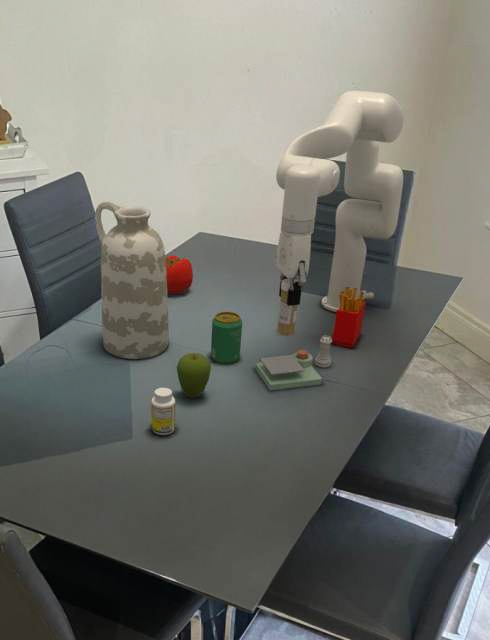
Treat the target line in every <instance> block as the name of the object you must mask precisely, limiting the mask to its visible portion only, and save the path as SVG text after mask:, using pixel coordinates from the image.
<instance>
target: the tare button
mask: <svg viewBox="0 0 490 640" xmlns="http://www.w3.org/2000/svg"><path fill="white" fill-rule="evenodd" d="M297 352H298V355H297V358H298V359H302V360H304V359H307V355H308V354H309V352H308V351H307V350H305V349H299V350H298V351H297Z"/></svg>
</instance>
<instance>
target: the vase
mask: <svg viewBox="0 0 490 640" xmlns="http://www.w3.org/2000/svg"><path fill="white" fill-rule="evenodd" d="M104 210H107V211H110V212H112V213H113V216H114V218H115V220H116V225H115V226H113V227H112V228H110V230H109V231H108V232H107V234H106V232H105V228H104V226H103V221H102V213H103V211H104ZM150 217H151V211H150V209H148V208H147V207H144V206H139V205H138V206H137V205H132V206H131V205H130V206H128V205H127V206H120V205H118V204H115V203H113V202H110V201H103V202H100V203H99V204H98V205H97V207H96V209H95V211H94V225H95V228H96V233H97V235H98V239H99V243H100V246H101V251H100V252H101V253H100V279H101V280H100V282H101V285H100V286H101V329H102V331H101V332H102V345H103V348H104V350H105V351H106V352H107V353H108V354H110V355H112V356H113V357H117V358H121V359H125V360H126V359H128V360H143V359H148V358H149V359H150V358H153V357H156V356H159V355H161V354H163V353H164V352H165V351H166V350H167V349H168V347H169V342H170V341H169V339H170V338H169V336H170V335H169V332H170V331H169V300H168V299H169V297H168V293H167V276H166V259H165V258H166V251H165V245H164V242H163V239H162V237H161V236H160V233H158V232H157V230H156V229H155V228H153V227H152V226H150V224H149V218H150Z"/></svg>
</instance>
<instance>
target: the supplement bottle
mask: <svg viewBox="0 0 490 640" xmlns="http://www.w3.org/2000/svg"><path fill="white" fill-rule="evenodd" d="M150 407H151V408H150V409H151V430H152V432H154V433H155V434H157V435H161V436H167V435H170V434H172V433H174V431H175V430H176V398H175V397H174V396H173V391H172V389H170V388H168V387H159V388H156V389H155V390H154V396H153V397H152V398H151V401H150Z"/></svg>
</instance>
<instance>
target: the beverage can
mask: <svg viewBox="0 0 490 640" xmlns="http://www.w3.org/2000/svg"><path fill="white" fill-rule="evenodd" d="M242 331H243V320H242V318H241V315H240V314H239V313H237V312H233V311H219V312H217V313H216V314H215V315H214V317H213V318H212V321H211V339H210V340H211V342H210V357H211V358H212V360H213V361H214V362H216V363H218V364H223V365H229V364H233V363H236V362H237V361H238V360H239V358H240V357H241V345H242Z"/></svg>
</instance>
